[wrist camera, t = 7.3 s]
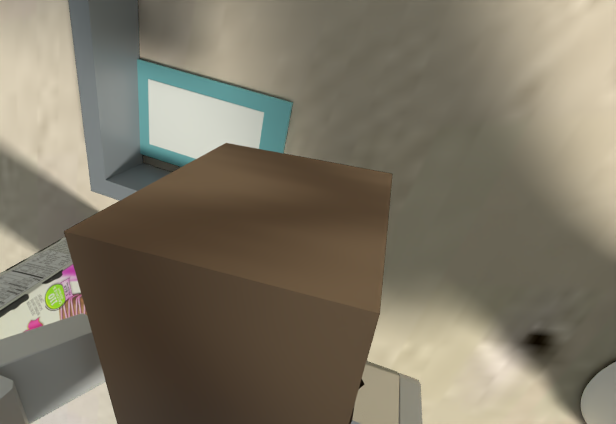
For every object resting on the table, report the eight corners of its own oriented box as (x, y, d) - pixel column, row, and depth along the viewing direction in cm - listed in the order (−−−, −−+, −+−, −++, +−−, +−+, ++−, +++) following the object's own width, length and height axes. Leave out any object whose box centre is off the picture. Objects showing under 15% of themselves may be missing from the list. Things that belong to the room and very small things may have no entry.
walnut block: (392, 173, 8) (380, 313, 4) (338, 397, 13) (304, 583, 8) (226, 142, 9) (63, 231, 5) (228, 362, 13) (143, 516, 9)
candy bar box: (147, 308, 40) (7, 451, 26) (112, 299, 41) (-41, 433, 27) (128, 227, 35) (-60, 351, 21) (88, 220, 36) (-116, 333, 22)
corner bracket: (326, 41, 23) (309, 40, 19) (286, 224, 30) (268, 251, 26) (119, -12, 25) (65, -23, 21) (129, 172, 32) (91, 190, 28)
